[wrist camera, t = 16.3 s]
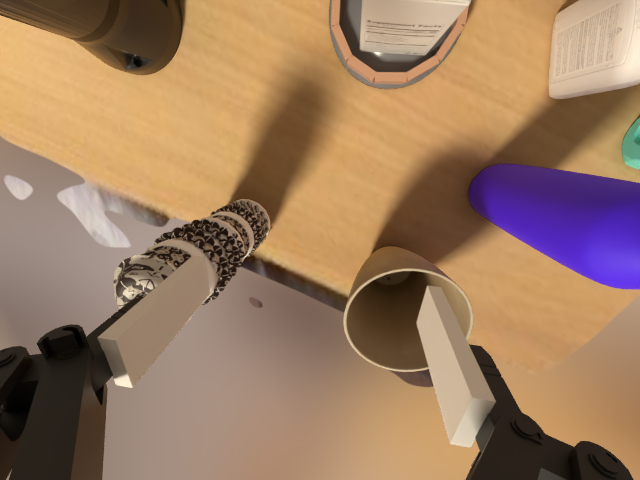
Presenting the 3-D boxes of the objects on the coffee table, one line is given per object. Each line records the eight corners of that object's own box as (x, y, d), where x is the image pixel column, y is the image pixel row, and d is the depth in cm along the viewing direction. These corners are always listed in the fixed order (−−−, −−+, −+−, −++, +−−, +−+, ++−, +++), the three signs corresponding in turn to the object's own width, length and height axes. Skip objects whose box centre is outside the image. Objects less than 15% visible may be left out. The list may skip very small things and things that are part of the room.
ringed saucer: (305, 43, 37) (302, 36, 34) (381, -111, 31) (383, -134, 28) (406, 114, 38) (410, 112, 36) (497, -19, 32) (510, -33, 29)
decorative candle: (283, 230, 47) (212, 320, 23) (243, 255, 49) (145, 358, 26) (251, 186, 45) (139, 236, 21) (212, 214, 47) (74, 286, 24)
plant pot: (336, 288, 49) (328, 352, 35) (362, 214, 44) (367, 251, 29) (414, 312, 49) (439, 386, 34) (450, 240, 44) (499, 292, 29)
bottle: (454, 203, 42) (657, 331, 14) (488, 152, 39) (836, 183, 11) (501, 225, 42) (792, 395, 14) (538, 176, 39) (1004, 269, 11)
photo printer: (580, 96, 35) (691, 74, 24) (544, 104, 36) (633, 86, 24) (590, 1, 32) (725, -78, 20) (550, 11, 33) (657, -59, 21)
